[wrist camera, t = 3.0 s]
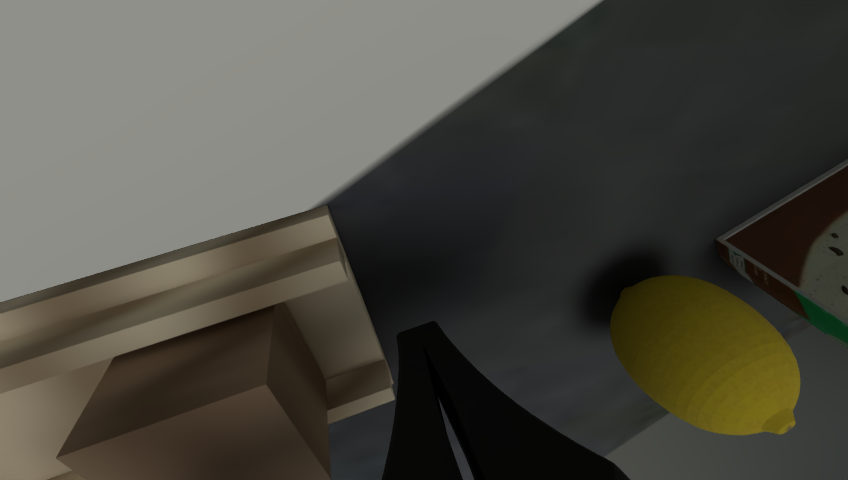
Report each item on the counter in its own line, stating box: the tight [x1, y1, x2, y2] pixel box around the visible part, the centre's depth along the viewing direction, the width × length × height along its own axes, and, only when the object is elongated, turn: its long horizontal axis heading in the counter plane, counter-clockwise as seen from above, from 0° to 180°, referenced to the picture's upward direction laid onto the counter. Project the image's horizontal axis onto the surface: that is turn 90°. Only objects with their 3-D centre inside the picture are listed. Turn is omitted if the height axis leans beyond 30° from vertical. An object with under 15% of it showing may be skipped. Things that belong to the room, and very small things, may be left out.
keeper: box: [56, 302, 331, 480], centre depth 12 cm, size 5×5×4 cm
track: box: [0, 205, 395, 480], centre depth 12 cm, size 18×9×5 cm, turn 102°
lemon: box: [610, 275, 800, 435], centre depth 16 cm, size 6×6×8 cm
